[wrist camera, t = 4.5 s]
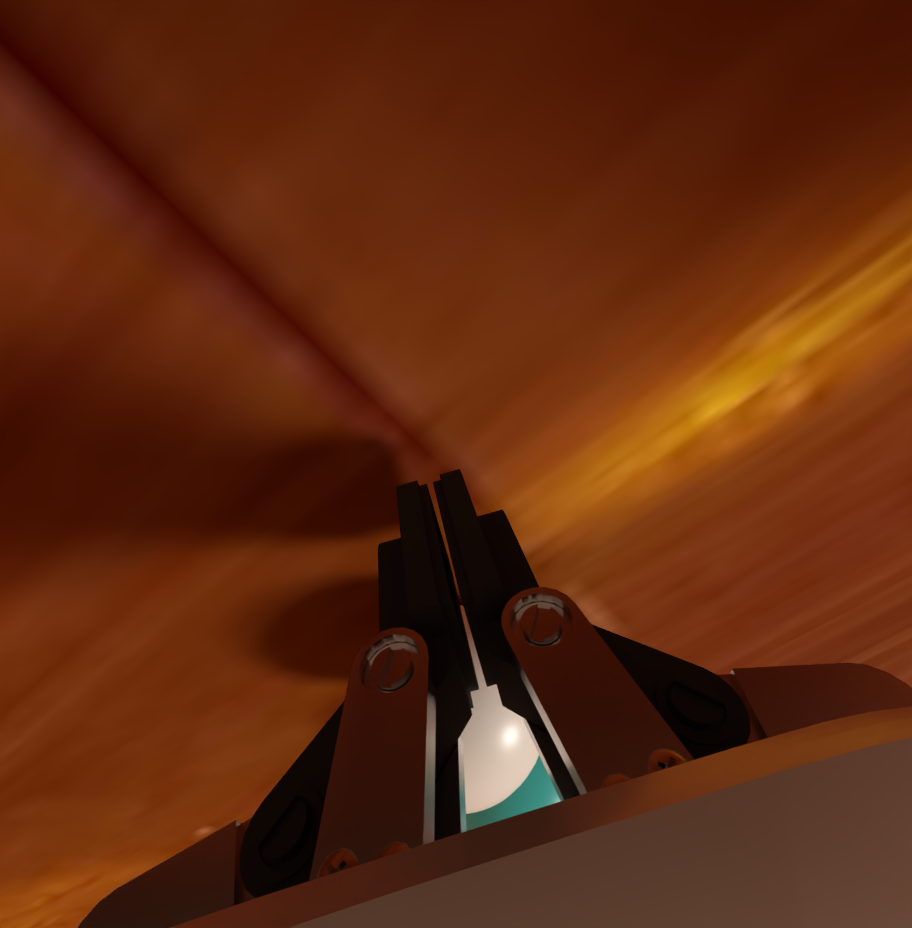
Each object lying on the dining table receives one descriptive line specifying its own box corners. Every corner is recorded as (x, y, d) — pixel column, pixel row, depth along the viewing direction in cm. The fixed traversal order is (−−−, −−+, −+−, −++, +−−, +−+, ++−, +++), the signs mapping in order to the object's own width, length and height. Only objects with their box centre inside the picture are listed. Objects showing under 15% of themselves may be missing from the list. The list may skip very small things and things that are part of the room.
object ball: (555, 654, 16) (627, 838, 12) (554, 697, 20) (609, 848, 16) (419, 694, 16) (447, 895, 12) (445, 730, 20) (473, 892, 16)
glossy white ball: (571, 853, 11) (522, 691, 16) (581, 686, 10) (523, 567, 15) (365, 881, 11) (383, 705, 16) (342, 711, 9) (370, 579, 14)
